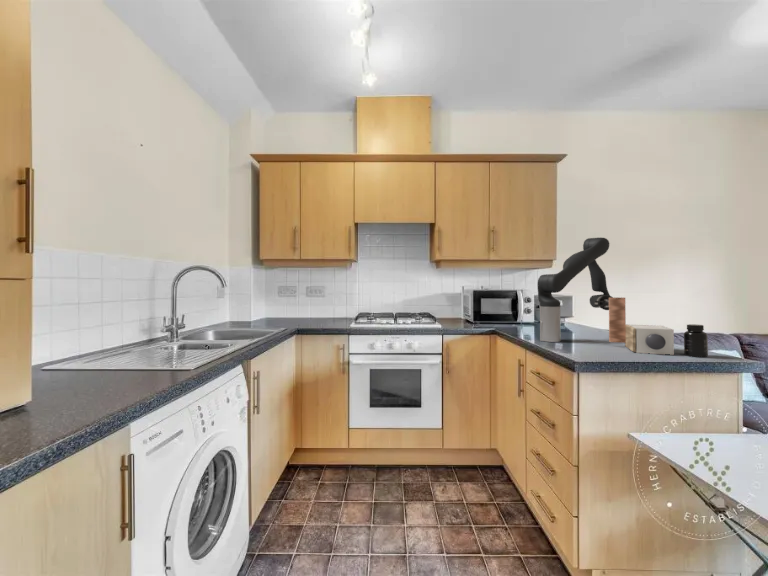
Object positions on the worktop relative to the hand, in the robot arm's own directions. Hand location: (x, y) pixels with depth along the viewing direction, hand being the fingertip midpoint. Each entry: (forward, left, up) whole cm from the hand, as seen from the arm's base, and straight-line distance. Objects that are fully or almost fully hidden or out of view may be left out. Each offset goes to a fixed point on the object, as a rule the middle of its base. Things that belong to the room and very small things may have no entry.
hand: (612, 304), depth 162 cm
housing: (+10, -17, -18) cm, 27 cm away
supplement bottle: (+23, -23, -19) cm, 37 cm away
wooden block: (0, -17, -18) cm, 25 cm away
